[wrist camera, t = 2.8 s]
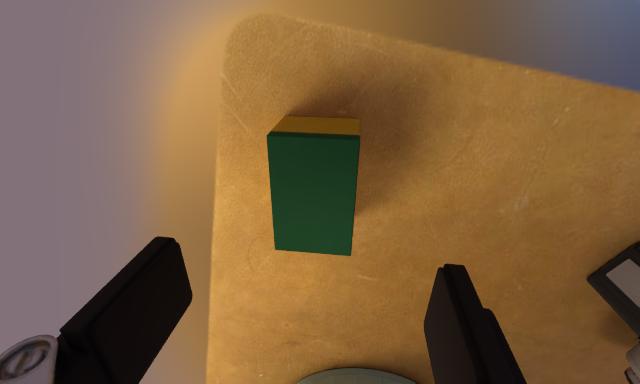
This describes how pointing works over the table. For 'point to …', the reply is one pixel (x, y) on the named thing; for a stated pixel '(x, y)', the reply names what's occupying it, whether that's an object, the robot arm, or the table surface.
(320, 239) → the sponge
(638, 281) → the camera
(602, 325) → the table surface
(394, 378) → the bowl
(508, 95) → the table surface
